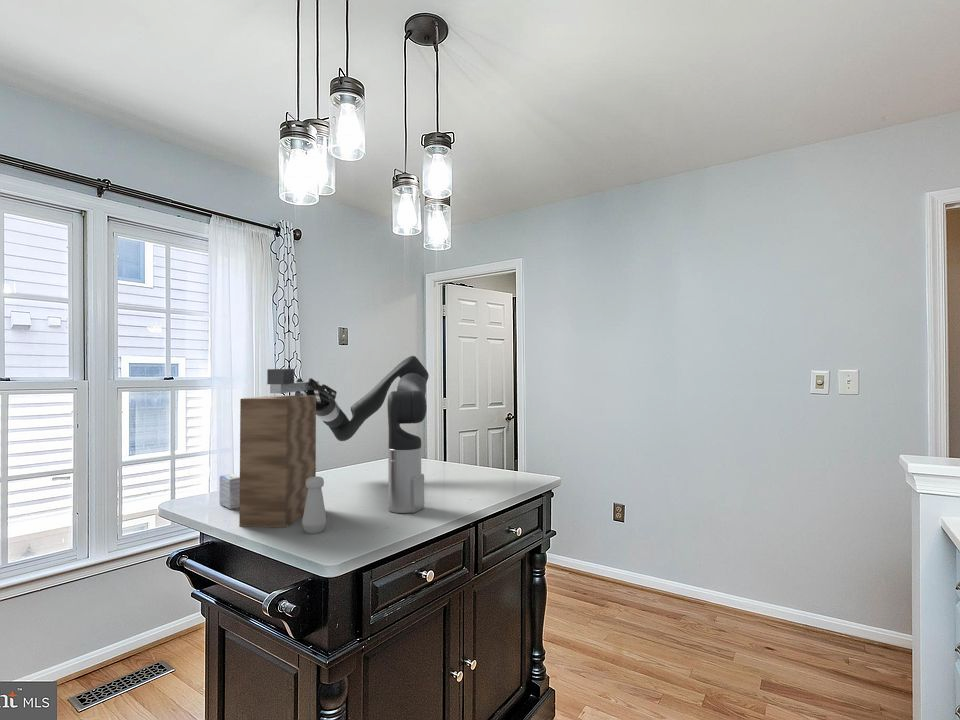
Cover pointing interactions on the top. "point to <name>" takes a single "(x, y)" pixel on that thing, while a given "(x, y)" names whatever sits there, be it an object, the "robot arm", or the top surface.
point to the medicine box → (230, 491)
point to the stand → (276, 458)
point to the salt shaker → (314, 507)
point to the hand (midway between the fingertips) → (304, 381)
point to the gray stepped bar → (285, 381)
